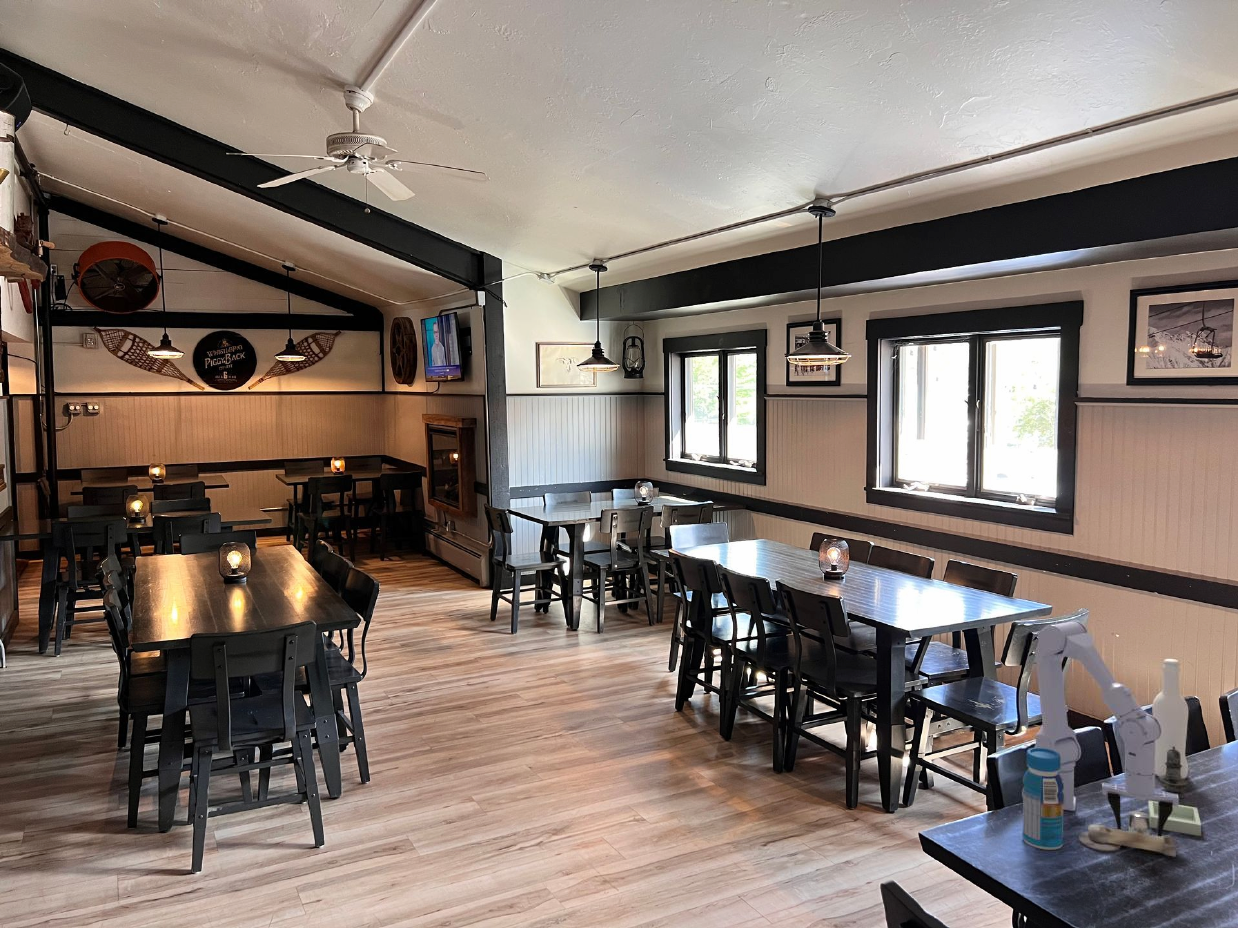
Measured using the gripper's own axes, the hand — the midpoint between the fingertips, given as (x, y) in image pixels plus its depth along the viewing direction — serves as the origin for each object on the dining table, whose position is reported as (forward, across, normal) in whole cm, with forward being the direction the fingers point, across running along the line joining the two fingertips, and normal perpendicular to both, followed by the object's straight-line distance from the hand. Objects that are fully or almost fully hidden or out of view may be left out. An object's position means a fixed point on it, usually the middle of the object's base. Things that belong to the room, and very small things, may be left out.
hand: (1139, 830), depth 199 cm
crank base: (+1, -8, -6) cm, 10 cm away
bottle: (+2, +8, +42) cm, 42 cm away
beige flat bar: (0, -2, -6) cm, 7 cm away
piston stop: (+2, 0, 0) cm, 2 cm away
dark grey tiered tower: (+2, +8, +29) cm, 30 cm away
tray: (+1, +7, +11) cm, 13 cm away
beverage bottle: (+2, -19, -11) cm, 22 cm away
